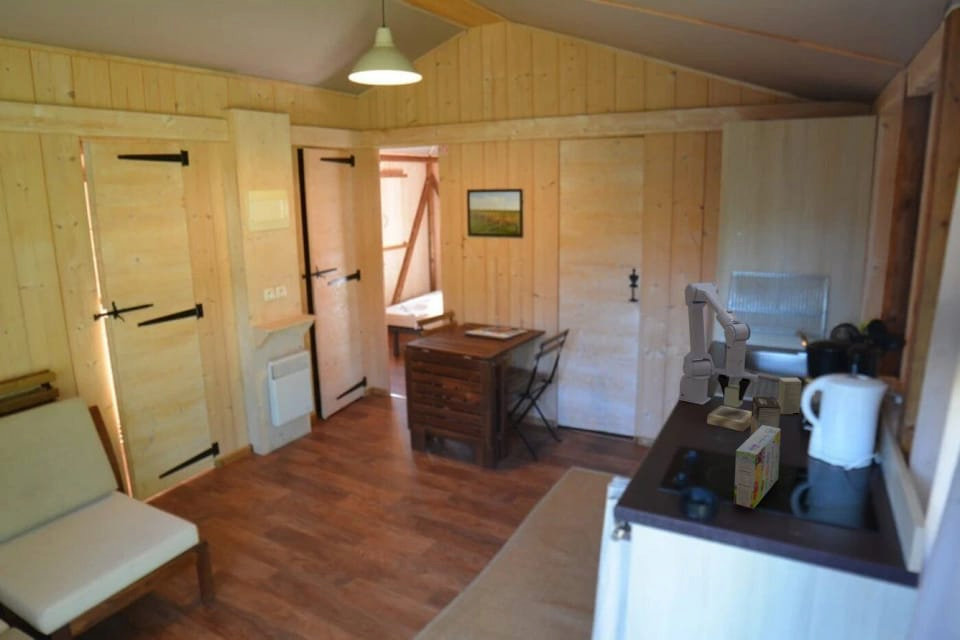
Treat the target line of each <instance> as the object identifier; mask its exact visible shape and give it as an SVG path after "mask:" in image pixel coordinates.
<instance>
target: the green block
mask: <svg viewBox="0 0 960 640" xmlns="http://www.w3.org/2000/svg"><path fill="white" fill-rule="evenodd" d="M739 392H740V389H739V385H735V384H728V386H727V387H725V395H724V397H723V406H727V407H732V408H737V409H739V407H741V406H742V405H743V403H744V399H743V400H742V401H739Z"/></svg>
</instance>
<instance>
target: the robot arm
mask: <svg viewBox="0 0 960 640" xmlns="http://www.w3.org/2000/svg"><path fill="white" fill-rule="evenodd" d="M718 287H719V286H717V284H716V283H715V282H714V281H710V282H696V283H692V282H691V283H688V284H687V285H686V287H685V289H684V300H685V306H687V310H688V327H689V328H688V329H689V330H688V331H689V344H690V347H689V348H690V351H689V352H688V353H686V355H684V356H683V364H682V373H683V375H682V376H681V378H680V381H679V394H678V396H679V397H678V401H684V402H688V403H693V404H696V405H697V404H698V405H701V406H702V405H705V404H706V403H708V402H709V401H711V399H712V398H711V397H708V388H709V387H708V386H709V385H708V384H709V379H711V376H712V375H714V376H715V375H717V376H718V377H717V382H718V383H719V386H720V388H721V391H722V392H721V393H722V396H723V397H722V398H724V395H725V387H727V386H728V385H730V383H729V382H730V379H731V378H735V379H739V381H738V386H739V389H740V392H739V401H742V400H743V401H744V397H745V394H746V392H747V389H748V387H749V386H750V384H751V382H753V383H756V382H758V381H759V375H758V374H755V373H751V372H747V371H745V363H746V361H745V360H746V352H747V351H746V348H747V341H748V340H749V339H750V338H751V334H752V333H751V328H750V326H749V324H748V323H747V322H744V321H741V320H740V319H739V318H738V316H737V315H736V314H735V312H734V311H733V310H732V309H731V308H728V307H726V306H725V304H724V302H723V301H722V299H721V298H720V295H719V288H718ZM707 305H708V306H709V307H710V308H711V309H712V310H713V311H714V313H716V315H715V319H716V321H717V322H718V323H719V325H720V327H722V329H723V330H724V331H723V334H724V336H723V337H724V339H725V346H726V359H725V361H726V362H725V368H717V367H715V365H714V362H713V359H712V355H711V354H710V353H709V352H707V351H706V342H705V341H706V339H705V324H704V323H705V322H704V307H706V306H707Z"/></svg>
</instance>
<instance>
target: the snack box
mask: <svg viewBox="0 0 960 640" xmlns="http://www.w3.org/2000/svg"><path fill="white" fill-rule="evenodd" d="M781 431H782V429H781V428H780V427H779V428H775V427H770V426H765V425H762V426H761V427H760V428H759V429H758V430H757V431H756V432H755V433H754V434H753V435H752V436H750V435H749V438H748V437H747V439H746V440H745V441H744V442H743V443H742V444H741V445H739V447H738V448H737V449H736V450H735V471H734V472H735V473H734V491H733V492H734V493H733V494H734V495H733V504H734V505H737V506H739V507H743V508H748V509H751V510H754V509H755V508H756V506H757V505H758V504H759V503H760V502H761V501H762V499H763V498H764V497H765V495H766V494H767V493H768V492H769V490H771V488H772V487H773V486H774V485H775V484H776V482H777V481H778V480H779V467H780V450H781V449H780V448H781V433H782V432H781Z"/></svg>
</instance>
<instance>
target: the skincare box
mask: <svg viewBox="0 0 960 640" xmlns="http://www.w3.org/2000/svg"><path fill="white" fill-rule="evenodd" d="M778 379H779V380H778V390H777V391H778V392H777V393H778V394H777V395H778V396H777V402H778V404H779V406H780V407H781V408H780V415H794V414H793V413H799V414H800V409H801V408H800V404H801V393H802V392H801V391H802V383H803V382H802V380H800V379H799V378H798V377H793V376H792V377H779V378H778Z"/></svg>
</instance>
